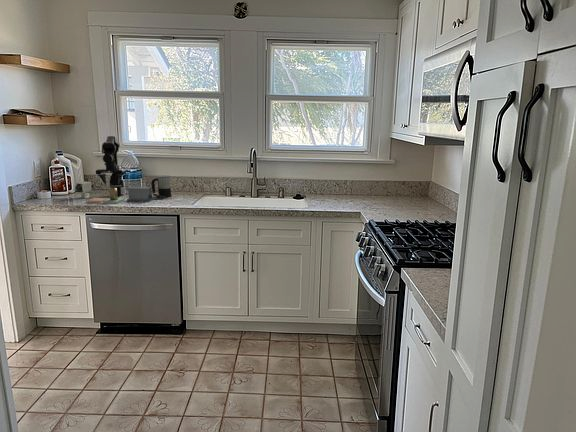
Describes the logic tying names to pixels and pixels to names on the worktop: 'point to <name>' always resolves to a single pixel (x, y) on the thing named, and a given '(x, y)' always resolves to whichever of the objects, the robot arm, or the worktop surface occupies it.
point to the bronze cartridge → (113, 194)
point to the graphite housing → (140, 194)
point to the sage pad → (114, 201)
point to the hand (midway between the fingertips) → (111, 184)
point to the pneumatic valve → (84, 188)
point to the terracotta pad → (96, 200)
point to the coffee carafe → (162, 186)
